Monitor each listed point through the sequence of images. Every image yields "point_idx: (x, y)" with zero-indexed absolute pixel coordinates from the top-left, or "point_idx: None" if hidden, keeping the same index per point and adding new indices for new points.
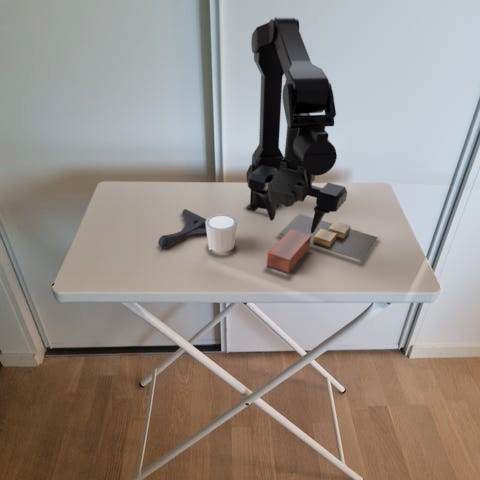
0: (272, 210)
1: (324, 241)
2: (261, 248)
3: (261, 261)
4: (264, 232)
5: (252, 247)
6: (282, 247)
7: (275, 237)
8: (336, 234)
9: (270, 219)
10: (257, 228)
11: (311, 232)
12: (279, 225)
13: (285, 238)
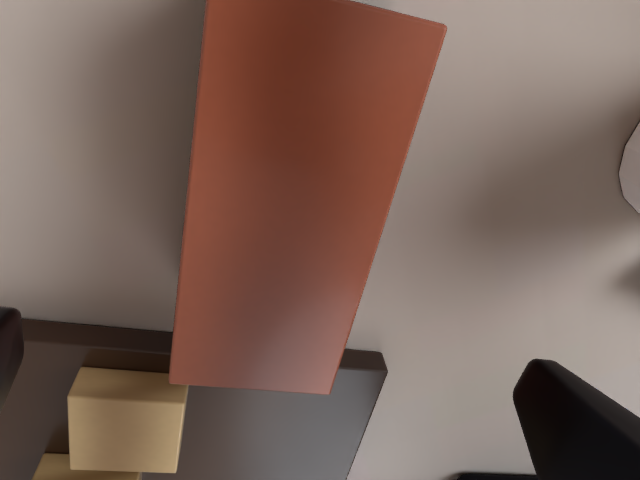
0: (617, 473)
1: (110, 389)
2: (460, 240)
3: (442, 115)
4: (462, 366)
5: (511, 230)
6: (333, 161)
7: (401, 351)
8: (70, 462)
9: (556, 365)
10: (500, 381)
11: (2, 310)
12: (400, 434)
13: (339, 286)
